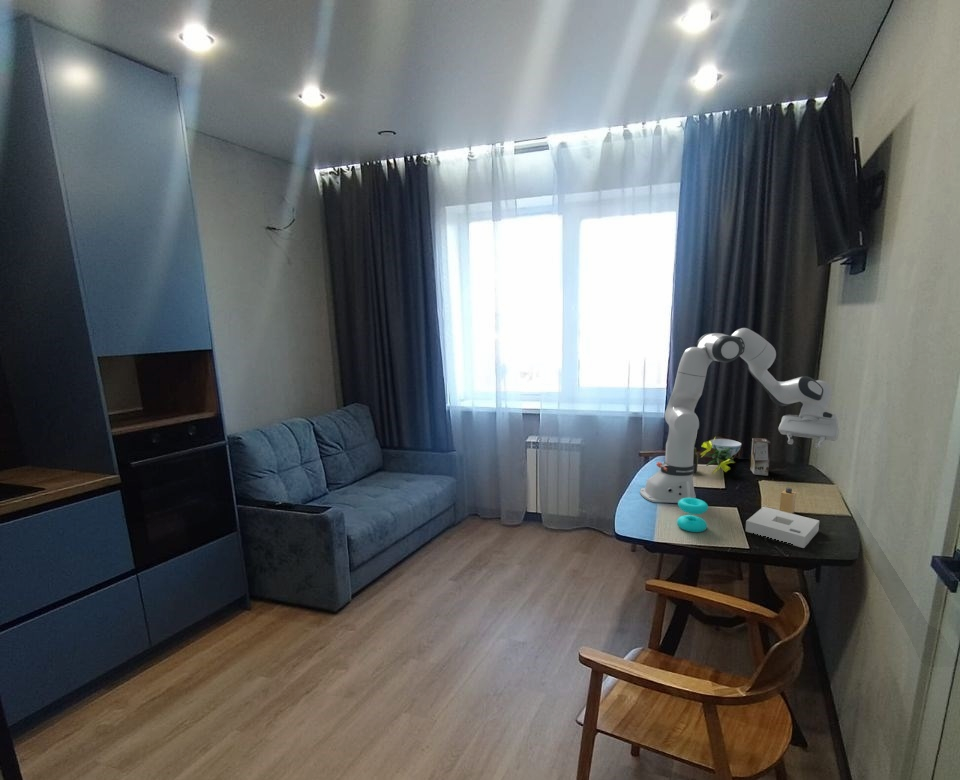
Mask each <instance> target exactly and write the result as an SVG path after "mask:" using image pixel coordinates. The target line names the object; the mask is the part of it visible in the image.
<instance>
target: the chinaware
mask: <svg viewBox="0 0 960 780" xmlns="http://www.w3.org/2000/svg"><path fill="white" fill-rule="evenodd" d="M710 441H711V445H712V443H713V445H712V448H714V445H715V446H716V448H717V450H726V449H730V450H729V451H730V454H731V457H730V458H729V459H732V458H733V456H734V455H736V454H737V453H738V452H739V451H740V450H741V447H742V442H739V441H736V440H733V439H728V438H715V439H714V438H713V439H710ZM713 441H714V442H713ZM714 449H715V448H714ZM725 452H726V451H725ZM724 456H725V455H724ZM726 457H728V455H727V456H726Z"/></svg>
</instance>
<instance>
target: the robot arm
mask: <svg viewBox="0 0 960 780" xmlns="http://www.w3.org/2000/svg"><path fill="white" fill-rule="evenodd" d="M739 357H740V358H741V359H742V360H743V361H744V362H745V363H747V370H748V372H749V373H750V374H751V376H752V377H753V378H754V379H755V380H756V381H757V383H758V384H759V385H760V386H761V387H762V388H763V389H764V390H765V392H766V393H767V394H768V396H769V398H770V399H771V401H772V402H773V403H775V404H776V405H778V406H779V407H780V406H781V407H786V406H788V405H792V404H794V403H795V404H796V403H799V402H800V403H801V404H802V406H801V408H800V412H799V414H790V413H789V414H785V415H783V416H782V417H781V420H780V423H779V426H778V427H777V428H778V432H779V433H780V434H781V435H784V436H785V435H786V437H787V438H788V440H787V444H788V445H794V439H793V438H792V437H793V436H794V437H801V438H808V439H814V440H815V439H816V440H819V441H818V442H815V444H814V448H815V449H820V448H821V446H822V445H824V444H825V443H826V441H829V442H835V441H837V440H838V439H839V433H840V429H839V419H838V417H837V415H836V413H832V412H828V408H829V406H830V403H831V400H832V394H833V393H832V392H833V391H832V390H833V389H832V386H831V384H829V383H828V382H827V381H825V380H822V379H821V380H820V379H817V380H815V379H814V378H812V377H810V376H807V375H804V376H799V377H796V378H795V377H794V378H792V379H789V380H785V381H778V380H777V379H775V377H774V376H773V375H772V374H771V373H770V371H768V369H769V368H771V366H772V365H773V363H774V362H775V360H776V357H777V352H776V349H775V347H774V346H773V344H771V343H770V342H769V341H767V339H765V338H764V337H762V336H761V335H760V334H759V333H757V332H755V331H754V330H751V329H749V328H747V327H741V328H738V329H736V330H735V331H734V332H733V333H731V335H728V334H725V333H721V332H720V333H719V332H718V333H717V332H707V333H705V334H704V335H702V336H701V337H699V339H698V340H697V343H695V345H694V346H690V347H688V348H686V349H685V350H684V352H683V354H682V355H681V358H680V360H679V364H678V368H677V372H676V377H675V381H674V385H673V389H672V392H671V395H670V397H669V400H668V403H667V405H666V409H665V411H664V419H665V422H666V423H667V425H668V434H667V440H666V443H665V459H664V460H665V461H664V462H663V463H661V462H660V461H658V462H657V463H656V466H657V467H658V468H660V470H659V471H657V472H656V473H655V474H654V475H652V476H651V477H648V478H647V480H646V481H645V487H643V488H642V487H641V488H640V491H639V494H640V495H641V496H642V497H643V498H644V499H645V500H647V501H649V502H653V503H665V504H666V503H668V504H669V503H671V504H672V503H673V504H678V502H679V500H681V499H683V498H697V495H696V492H695V485H694V476H695V475H694V474H695V473H694V464H693V458H694V447H695V445H696V439H697V434H698V430H699V429H700V421H699V417H698V415H697V414H696V412H695V409H696V407H697V404H698V402H699V400H700V398H701V396H702V395H703V390H704V388H705V387H704V386H705V382H706V377H707V372H708V368H709V366H710V364H711V363H712V362H713V361H716V362H720V363H731V362H734V361H735V360H737V359H738V358H739Z"/></svg>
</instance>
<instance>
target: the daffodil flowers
mask: <svg viewBox="0 0 960 780" xmlns="http://www.w3.org/2000/svg"><path fill="white" fill-rule="evenodd" d="M713 439H716V437H714V438H713ZM713 442H714V441H713ZM712 445H713V443H712ZM712 445H711V440H708V441H707V440H706V441H704V442H703V443H702V444H701V448H705V449H706V450H704V451H702V452H700V454H699V455H701V457H699V459H700V458H703V457H704V456H709V457H712V459H713V460H711V461H709V462H708V463H707V464H706V467H707V466H710V465H713V464H715V463H717V467H716V468H715V469H714V470H713V472H712V474H715V472H717V471H718V470H720V469H721V470H722V471H723V472H724V473H727V472H728V471H730V470H731V467H730V466H728V465H729V464H735V463H736V461H734V459H733V458H732V457H731V454H730V451H729V450H730V449H726V450H717V448H716V446H715V445H714V448H715V449H714V448H712ZM725 451H726V452H725ZM708 452H713V453H708ZM724 455H725V456H724ZM727 455H728V457H726V456H727ZM730 457H731V458H730Z"/></svg>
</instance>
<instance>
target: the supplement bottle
mask: <svg viewBox="0 0 960 780" xmlns="http://www.w3.org/2000/svg"><path fill="white" fill-rule="evenodd" d="M693 464H694V474H696V473H698V465H699V455H698V453H697V447H695V446H694V458H693Z"/></svg>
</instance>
